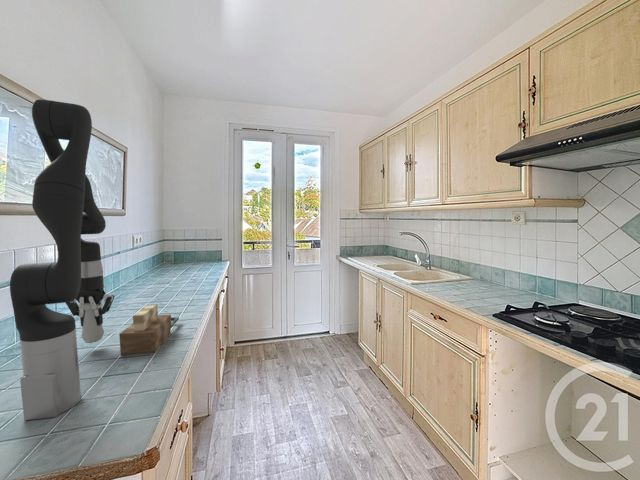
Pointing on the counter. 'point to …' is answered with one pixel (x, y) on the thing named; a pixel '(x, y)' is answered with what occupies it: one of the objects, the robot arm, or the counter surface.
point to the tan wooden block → (147, 322)
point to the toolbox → (145, 341)
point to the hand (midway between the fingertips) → (92, 326)
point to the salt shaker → (91, 326)
